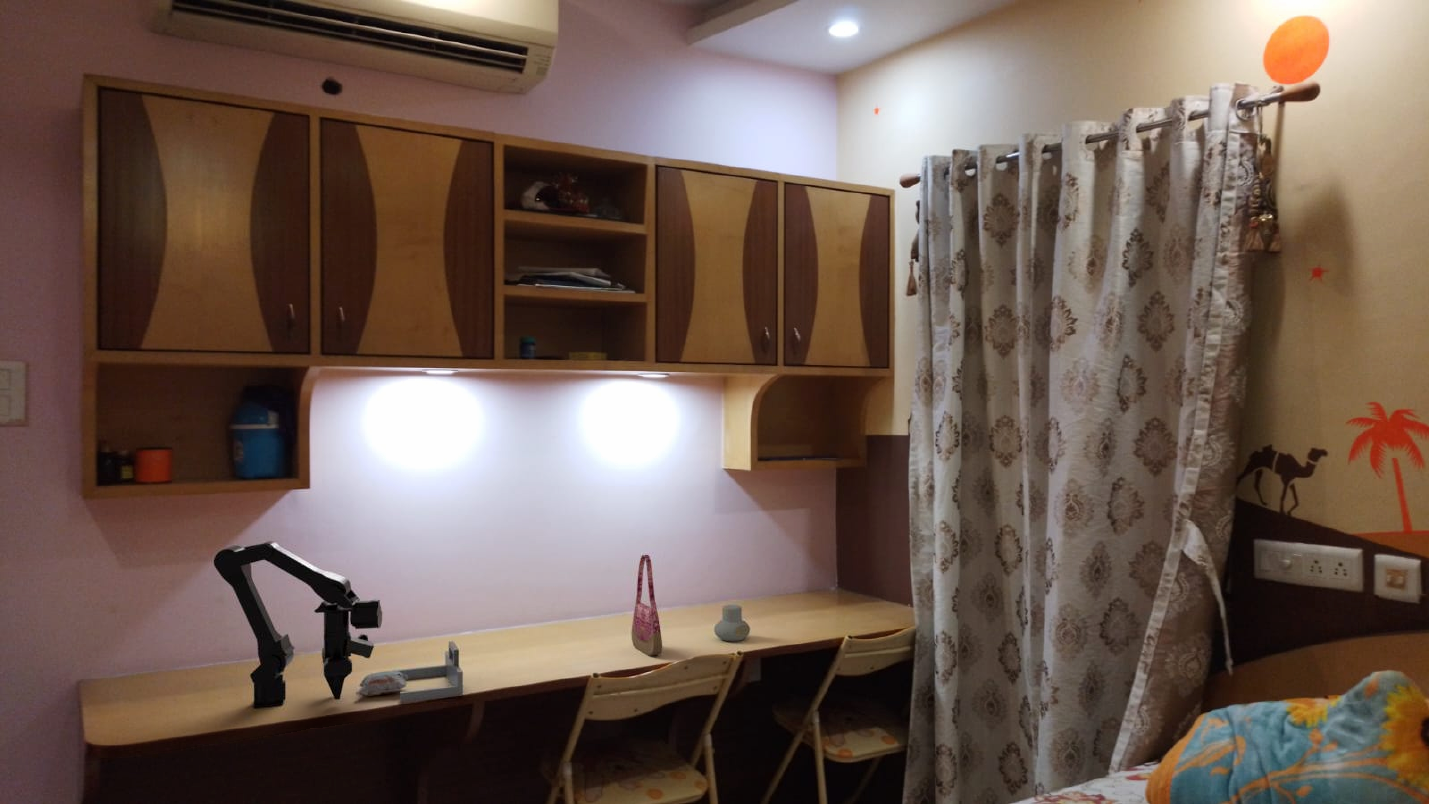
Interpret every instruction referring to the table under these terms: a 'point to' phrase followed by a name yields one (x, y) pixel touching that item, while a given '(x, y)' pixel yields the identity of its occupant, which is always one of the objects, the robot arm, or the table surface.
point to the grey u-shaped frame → (448, 669)
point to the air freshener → (732, 624)
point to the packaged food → (382, 683)
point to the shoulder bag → (646, 616)
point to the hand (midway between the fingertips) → (336, 694)
